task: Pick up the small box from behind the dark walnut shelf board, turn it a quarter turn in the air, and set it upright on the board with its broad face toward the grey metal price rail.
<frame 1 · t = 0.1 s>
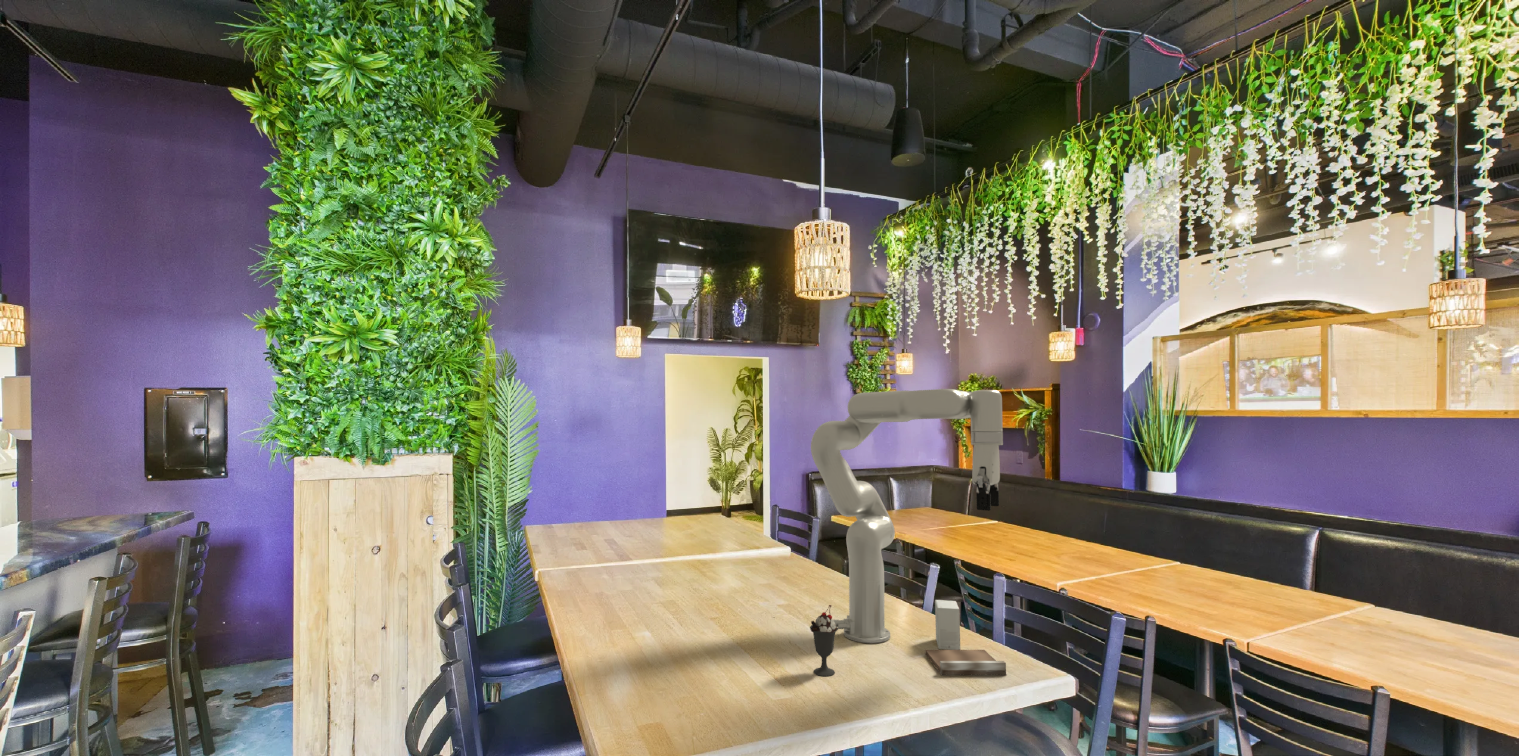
hand: (988, 507, 155), 37 cm above the table, tool pointing down, fingers open, 9 cm apart
small box: (947, 645, 164), on the table
shelf board: (964, 664, 150), on the table
sundae: (824, 672, 145), on the table
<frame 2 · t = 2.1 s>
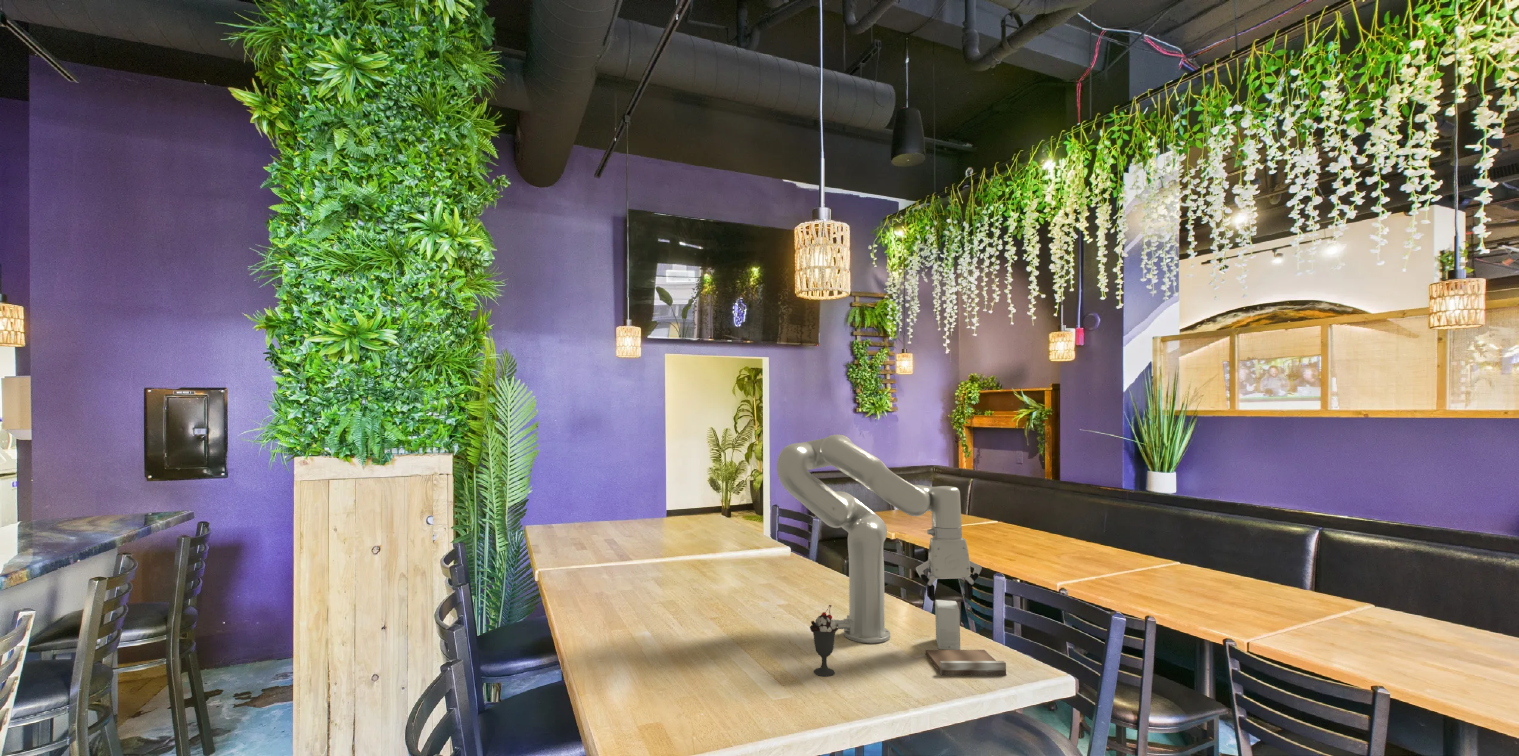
hand: (950, 599, 164), 12 cm above the table, tool pointing down, fingers open, 9 cm apart
nothing on the table moved.
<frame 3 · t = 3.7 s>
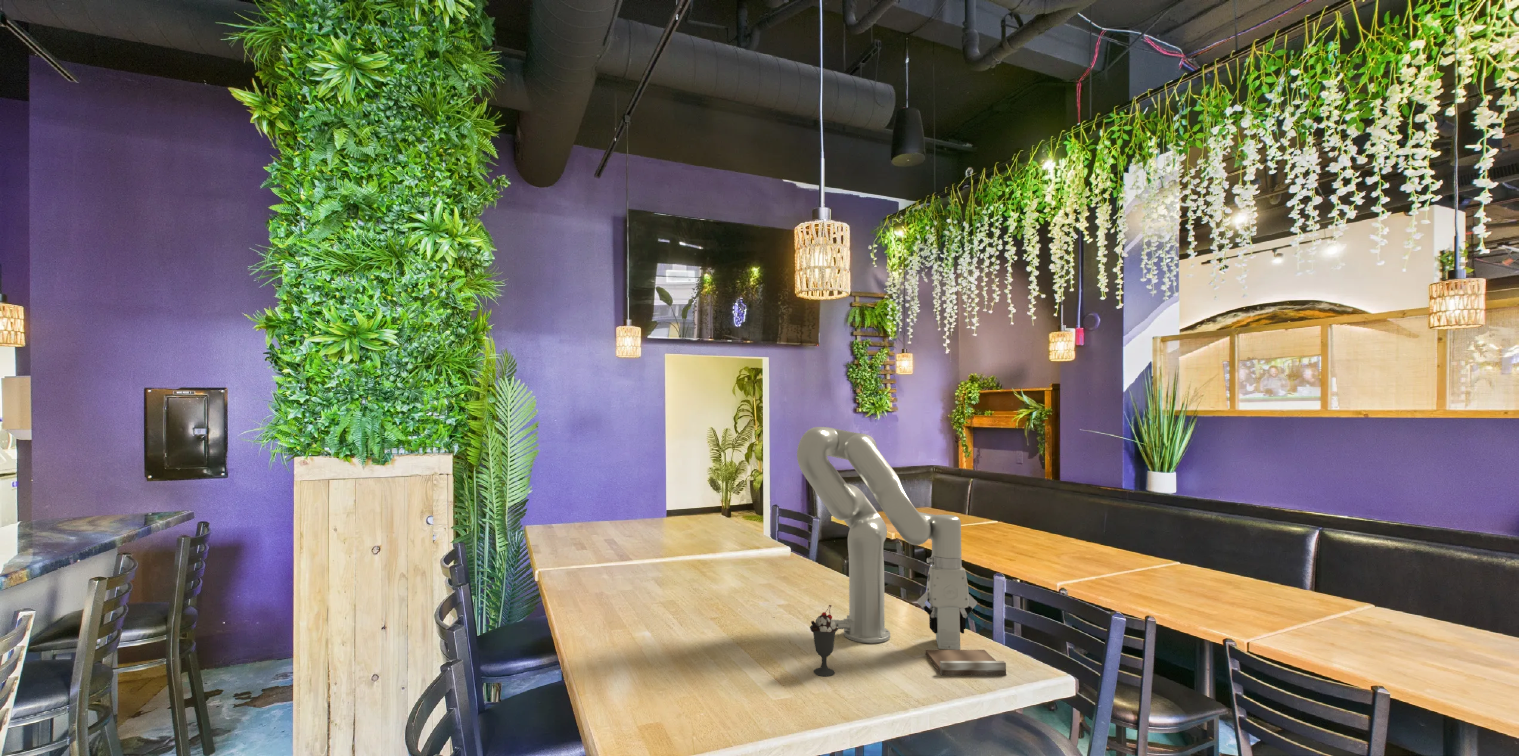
hand: (947, 631, 164), 3 cm above the table, tool pointing down, fingers closed on small box, 6 cm apart
small box: (947, 645, 164), on the table, touching gripper
everything else where it was.
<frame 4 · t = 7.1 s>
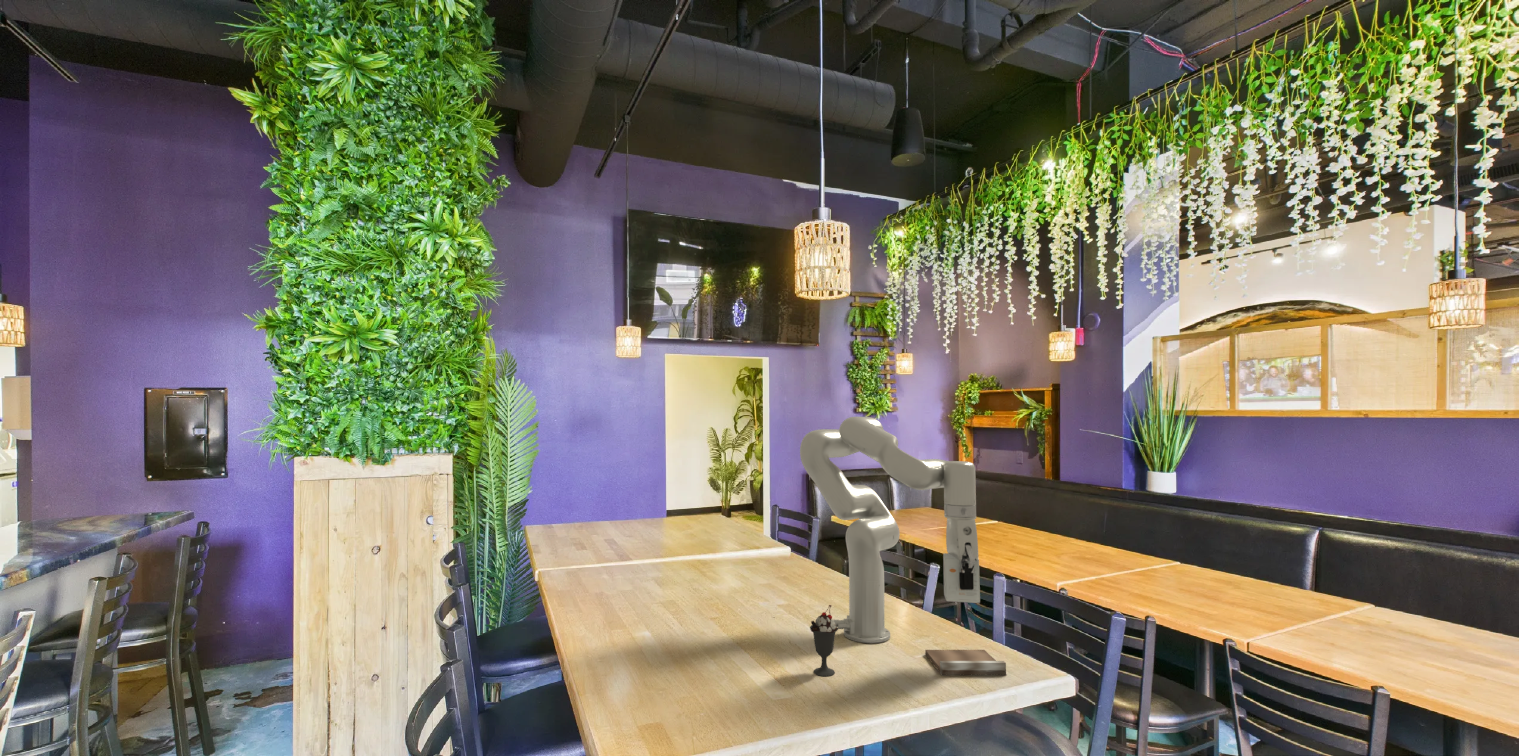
hand: (961, 584, 153), 19 cm above the table, tool pointing down, fingers closed on small box, 6 cm apart
small box: (961, 600, 153), point 15 cm above the table, touching gripper
everything else where it was.
when the fingers open (6 cm above the table, at t = 10.3 s): small box moves 1 cm, resting on shelf board.
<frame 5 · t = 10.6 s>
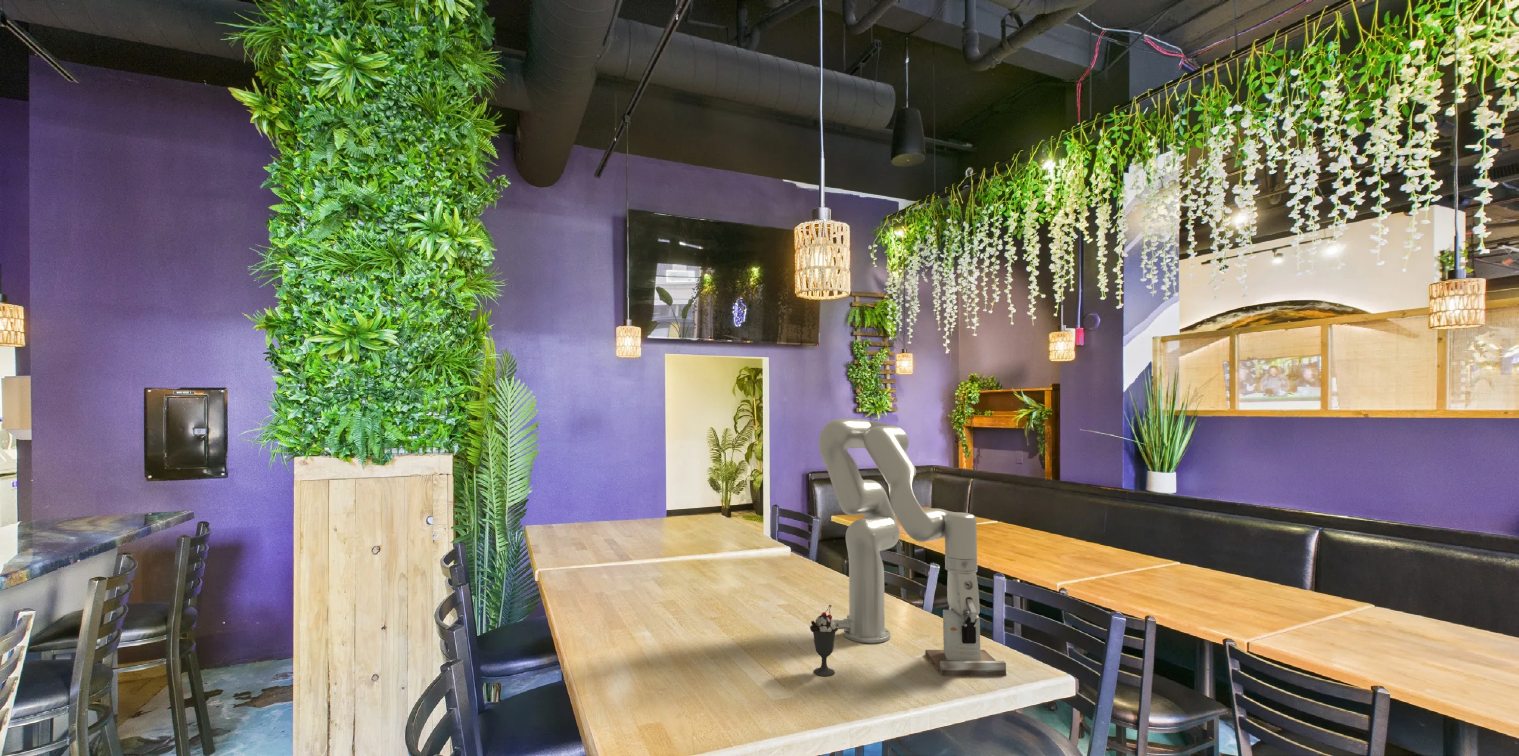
hand: (962, 636, 152), 6 cm above the table, tool pointing down, fingers open, 8 cm apart
small box: (961, 658, 152), point 1 cm above the table, touching shelf board
everything else where it was.
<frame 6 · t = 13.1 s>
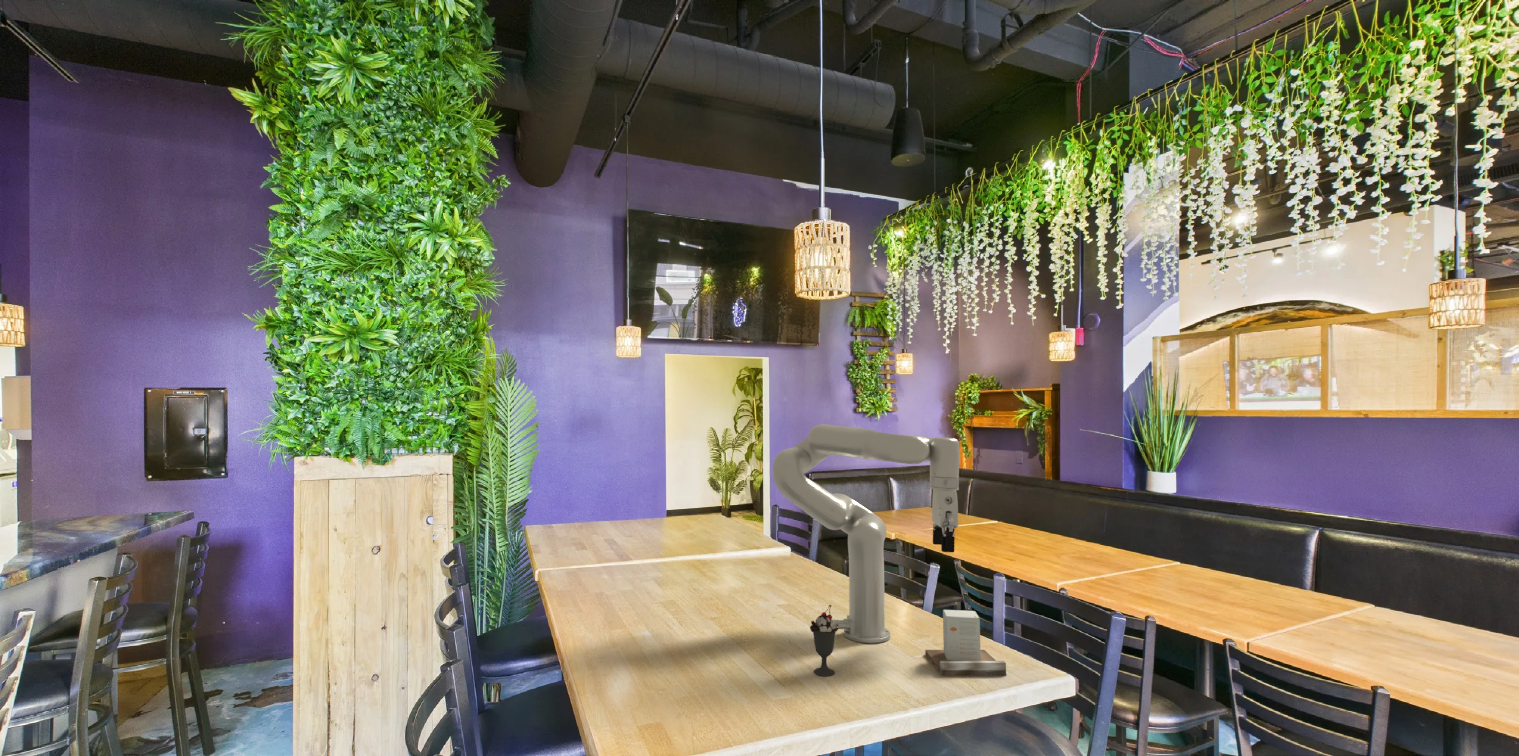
hand: (943, 547, 166), 25 cm above the table, tool pointing down, fingers open, 9 cm apart
nothing on the table moved.
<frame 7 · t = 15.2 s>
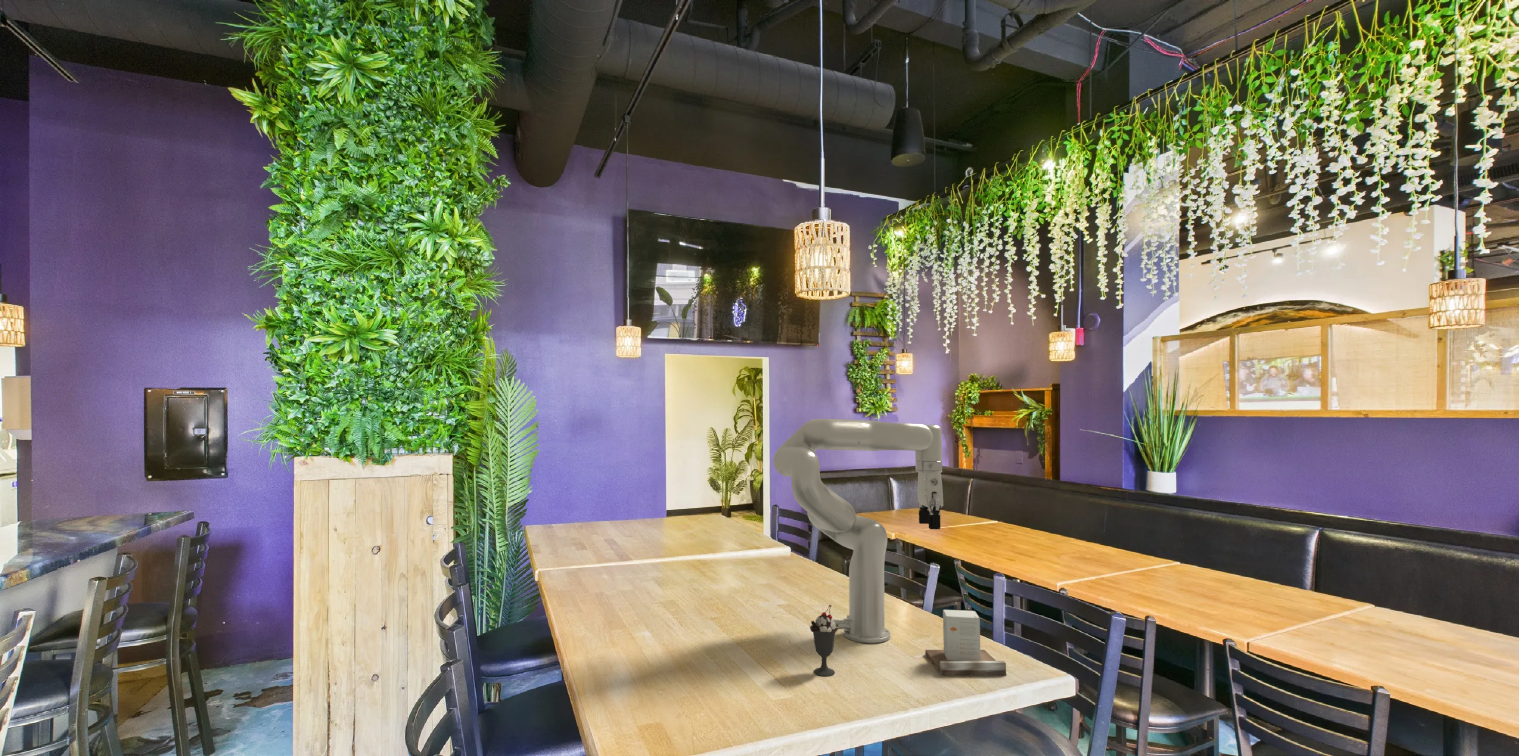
hand: (929, 526, 181), 28 cm above the table, tool pointing down, fingers open, 9 cm apart
nothing on the table moved.
at the end: small box inside the target area on the shelf board (0.3 cm from its centre), point 1.0 cm above the shelf board's base; small box tilted 0°; the gripper is holding nothing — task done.
